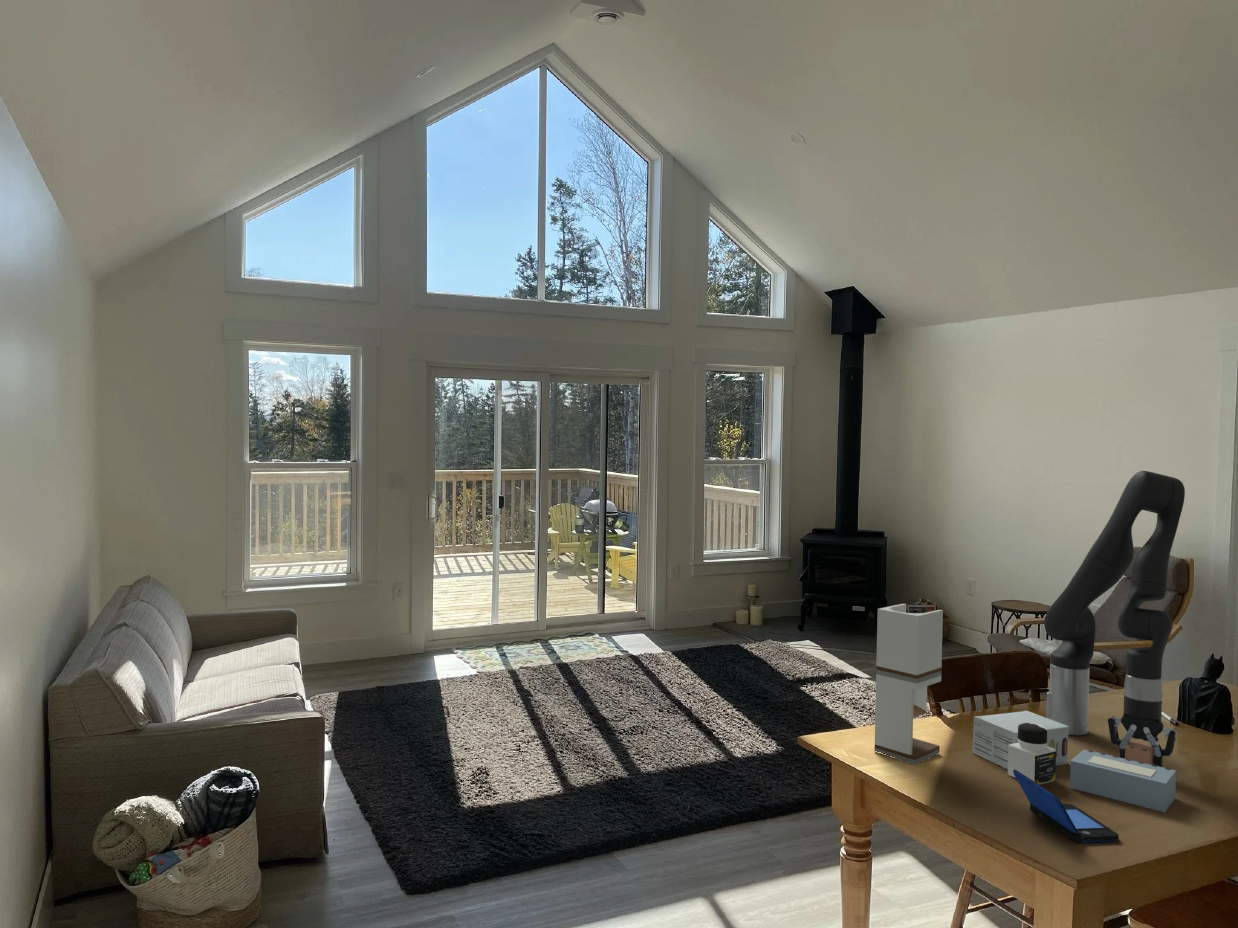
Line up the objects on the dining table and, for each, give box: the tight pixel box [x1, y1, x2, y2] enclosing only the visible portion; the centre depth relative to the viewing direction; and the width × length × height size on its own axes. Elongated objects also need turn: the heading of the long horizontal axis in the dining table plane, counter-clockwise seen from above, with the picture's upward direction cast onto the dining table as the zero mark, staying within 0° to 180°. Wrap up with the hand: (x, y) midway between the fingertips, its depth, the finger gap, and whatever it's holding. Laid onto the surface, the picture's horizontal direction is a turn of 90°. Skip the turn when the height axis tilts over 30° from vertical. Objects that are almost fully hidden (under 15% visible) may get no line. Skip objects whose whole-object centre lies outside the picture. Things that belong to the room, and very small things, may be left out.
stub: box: [1125, 740, 1155, 765], centre depth 200 cm, size 5×6×6 cm
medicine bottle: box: [1007, 723, 1057, 785], centre depth 196 cm, size 7×7×12 cm
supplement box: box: [972, 710, 1069, 770], centre depth 208 cm, size 17×13×9 cm
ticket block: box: [1069, 749, 1177, 813], centre depth 188 cm, size 18×10×6 cm, turn 47°
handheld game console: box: [1013, 770, 1120, 844], centre depth 172 cm, size 16×13×9 cm
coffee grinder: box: [874, 603, 944, 766], centre depth 210 cm, size 11×11×35 cm
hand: (1140, 767), depth 201 cm, fingers open, 5 cm apart
